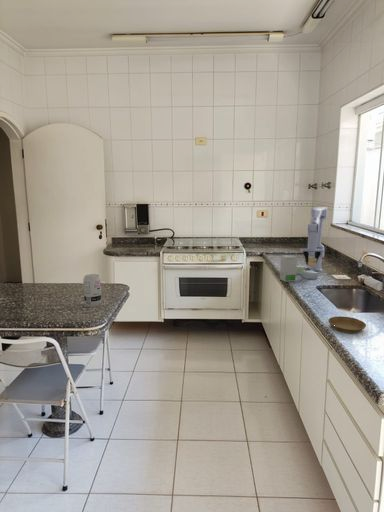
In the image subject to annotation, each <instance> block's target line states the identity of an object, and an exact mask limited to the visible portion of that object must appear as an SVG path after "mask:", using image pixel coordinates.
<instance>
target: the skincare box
mask: <svg viewBox="0 0 384 512" xmlns="http://www.w3.org/2000/svg"><path fill="white" fill-rule="evenodd" d="M297 264H298V256H296V255H293V254H292V255H280V270H279V280H280V281H282V282H284V283H286V282H289V283H290V282H296V281H297V274H296V268H297V266H298V265H297Z"/></svg>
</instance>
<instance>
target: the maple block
mask: <svg viewBox="0 0 384 512" xmlns="http://www.w3.org/2000/svg"><path fill="white" fill-rule="evenodd" d="M316 261H317V259H316V258H315V257H311V256H308V263H306V262H305V264H306V266H308V267H309V266H316Z"/></svg>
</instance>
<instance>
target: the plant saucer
mask: <svg viewBox="0 0 384 512" xmlns="http://www.w3.org/2000/svg"><path fill="white" fill-rule="evenodd" d="M327 321H328V323H329V325H330V326H331V327H332V328H333V329H335V330H336V331H339V332H342V333H345V332H346V333H347V334H357V333H360V332H362V331H363V330H364V329H365V328H366V327H367V324H366V323H365V322H364V321H363V320H361V319H358V318H354V317H350V316H341V315H340V316H332V317H329V319H328V320H327ZM334 325H335V326H334Z"/></svg>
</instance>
